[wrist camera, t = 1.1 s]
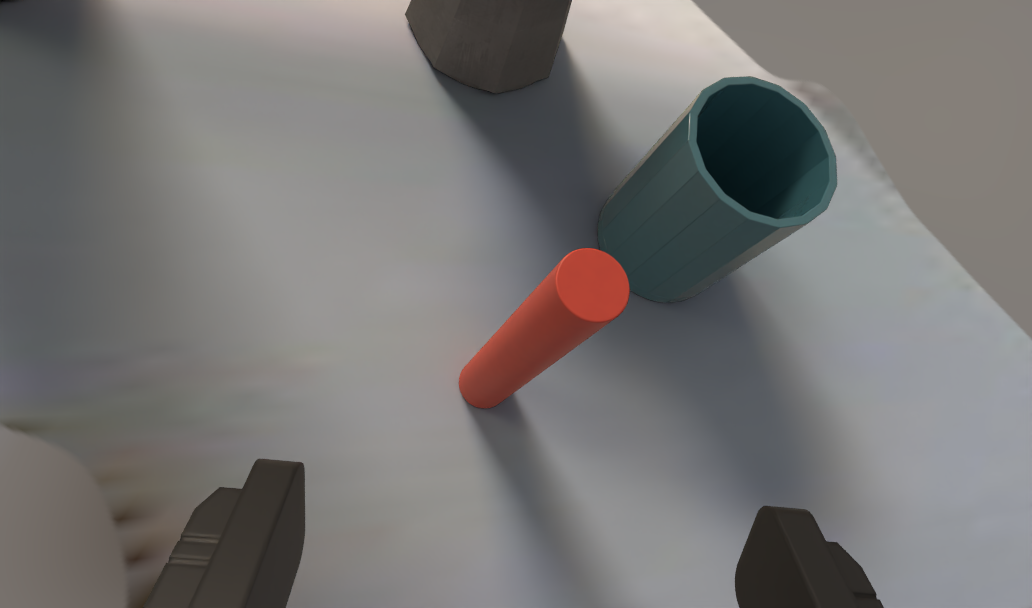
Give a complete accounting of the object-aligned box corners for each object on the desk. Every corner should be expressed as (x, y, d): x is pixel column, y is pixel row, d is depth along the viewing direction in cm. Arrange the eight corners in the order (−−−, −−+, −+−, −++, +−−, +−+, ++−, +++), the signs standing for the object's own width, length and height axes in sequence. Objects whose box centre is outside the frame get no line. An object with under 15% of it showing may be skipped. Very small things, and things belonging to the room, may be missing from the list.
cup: (571, 218, 38) (656, 115, 29) (663, 163, 41) (765, 53, 32) (651, 327, 38) (764, 256, 29) (738, 263, 41) (866, 179, 31)
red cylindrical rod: (448, 376, 34) (540, 271, 21) (488, 350, 35) (598, 233, 22) (477, 418, 33) (588, 337, 21) (517, 390, 34) (645, 297, 22)
